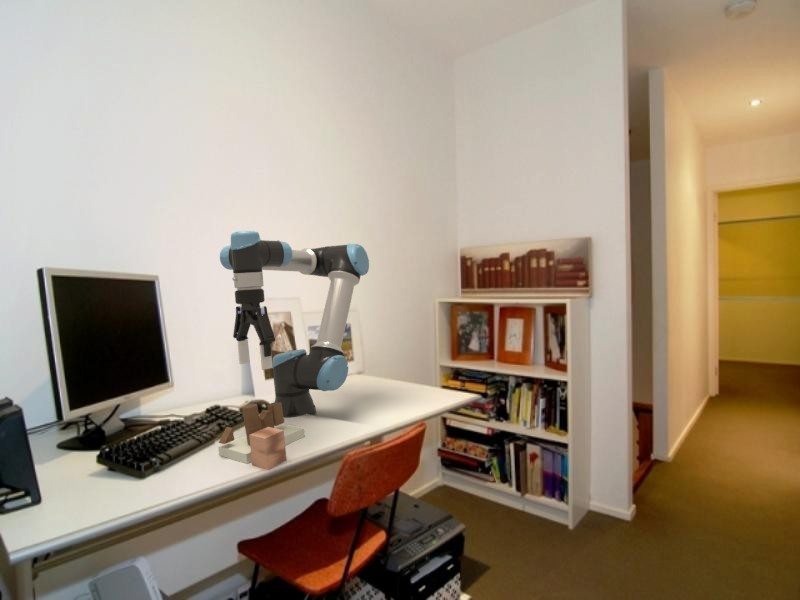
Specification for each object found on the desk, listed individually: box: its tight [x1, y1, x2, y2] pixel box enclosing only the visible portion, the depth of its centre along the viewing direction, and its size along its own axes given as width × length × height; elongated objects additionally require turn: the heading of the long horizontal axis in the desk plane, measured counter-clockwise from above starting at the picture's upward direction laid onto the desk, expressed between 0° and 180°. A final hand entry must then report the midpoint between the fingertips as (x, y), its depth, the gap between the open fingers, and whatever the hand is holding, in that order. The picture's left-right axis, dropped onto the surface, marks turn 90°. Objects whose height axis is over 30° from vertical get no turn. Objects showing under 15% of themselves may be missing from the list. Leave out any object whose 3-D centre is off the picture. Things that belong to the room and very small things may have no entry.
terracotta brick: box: [249, 427, 287, 471], centre depth 112 cm, size 6×6×8 cm
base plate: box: [217, 423, 306, 464], centre depth 124 cm, size 20×12×2 cm, turn 146°
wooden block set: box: [218, 401, 285, 445], centre depth 122 cm, size 18×9×10 cm, turn 141°
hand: (255, 366), depth 121 cm, fingers open, 13 cm apart
